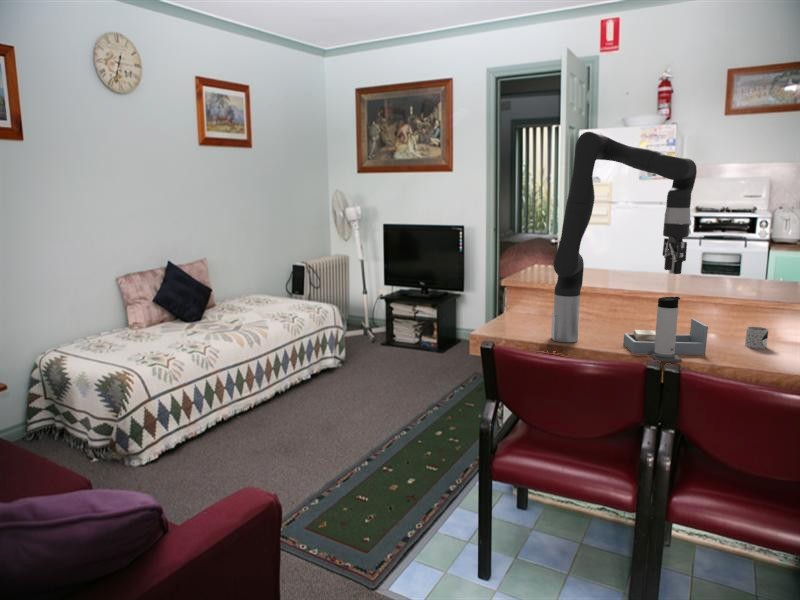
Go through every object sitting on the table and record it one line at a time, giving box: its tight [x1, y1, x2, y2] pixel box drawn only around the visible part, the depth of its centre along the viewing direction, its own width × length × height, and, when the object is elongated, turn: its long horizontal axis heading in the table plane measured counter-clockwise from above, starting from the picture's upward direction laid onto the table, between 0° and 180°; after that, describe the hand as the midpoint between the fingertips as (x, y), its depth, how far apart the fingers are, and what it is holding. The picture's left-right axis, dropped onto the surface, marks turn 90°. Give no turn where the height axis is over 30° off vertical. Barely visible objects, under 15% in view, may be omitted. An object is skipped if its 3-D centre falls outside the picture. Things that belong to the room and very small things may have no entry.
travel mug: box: [654, 296, 681, 358], centre depth 201 cm, size 6×7×20 cm
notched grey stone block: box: [744, 326, 769, 350], centre depth 218 cm, size 10×7×7 cm
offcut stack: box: [633, 329, 656, 342], centre depth 215 cm, size 8×7×6 cm
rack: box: [622, 318, 709, 356], centre depth 213 cm, size 24×12×10 cm, turn 85°
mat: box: [648, 352, 683, 363], centre depth 203 cm, size 8×8×1 cm
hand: (672, 271), depth 198 cm, fingers open, 8 cm apart
